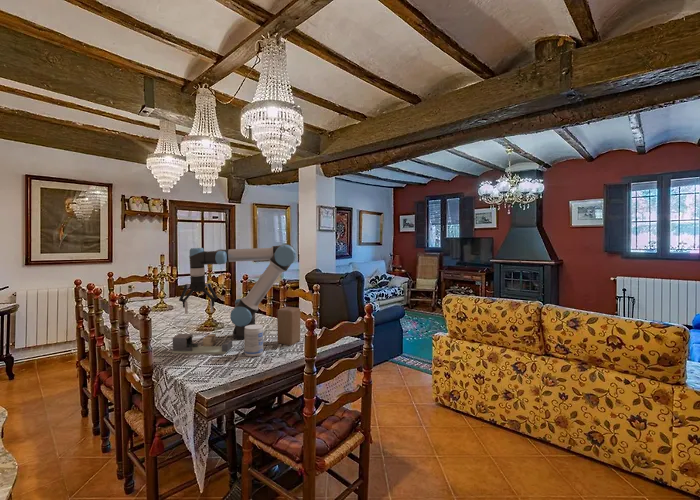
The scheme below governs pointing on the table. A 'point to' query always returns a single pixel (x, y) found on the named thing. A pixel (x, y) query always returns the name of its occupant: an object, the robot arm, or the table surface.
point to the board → (204, 350)
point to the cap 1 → (183, 342)
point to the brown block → (209, 340)
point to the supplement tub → (253, 340)
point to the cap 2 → (227, 346)
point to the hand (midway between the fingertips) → (199, 312)
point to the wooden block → (288, 325)
